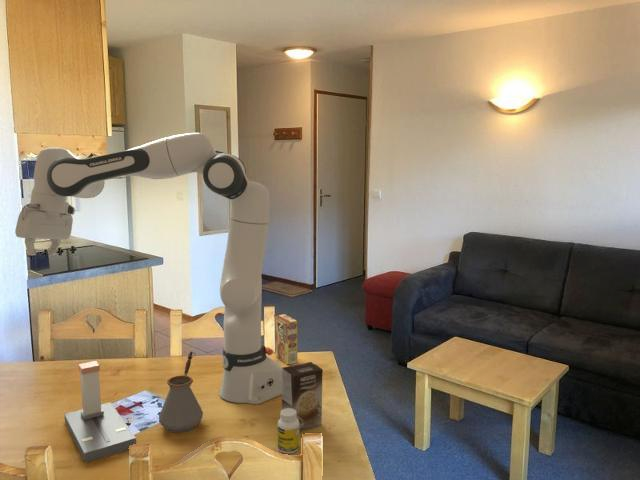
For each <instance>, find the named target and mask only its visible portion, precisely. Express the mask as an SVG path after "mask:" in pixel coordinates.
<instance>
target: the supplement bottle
mask: <svg viewBox="0 0 640 480" xmlns="http://www.w3.org/2000/svg"><path fill="white" fill-rule="evenodd" d="M279 413H280V415H279V416H280V418H279V419H278V420H277V449H278V451H279V452H280V453H282V454H294V453H296V452H298V450H299V448H300V431H299V420H298V419H297V418H296V417H297V412H296V410H294V409H292V408H286V409H283V410H282V409H281V410H280V412H279Z"/></svg>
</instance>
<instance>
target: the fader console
mask: <svg viewBox="0 0 640 480" xmlns="http://www.w3.org/2000/svg"><path fill="white" fill-rule="evenodd" d="M101 408H102V409H103V411H104V415H101V416H97V417H93V418H90V419H86V420H84V419H83V417H82V415H81V411H80V410H83V408H82V409H79V410H75V411H74V410H73V411H71V412H67V413H64V423H65V426H66V427H67V429H68V432H69V434H70V435H71V438H72V440H73V441H74V443H75V445H76V447H77V450H78V452H79V453H80V456H81V458H82V459H83V463H85V464H88V463H90V462H94V461H96V460H100V459H103V458H106V457H109V456H113V455H116V454H119V453H123V452H126V451H128V448H129V446H130V445H133V444H136V445H137V438H136V436H135V434H134V433H133V432H132V430H131V429H130V428H129V426H128V425H127V423H126V422H125V421H124V419H123V418H122V417H121V415H120V413H119V412H118V411H117V409H116V408H115V407H114V405H113V404H112V401H111V402H105V403H101Z"/></svg>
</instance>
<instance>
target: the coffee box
mask: <svg viewBox="0 0 640 480" xmlns="http://www.w3.org/2000/svg"><path fill="white" fill-rule="evenodd" d="M323 373H324V369H323V368H321V367H320V366H318V365H317V364H315V363H314V362H312V361H308V362H305V363H299V364H292V365H287V366H285V367H283V366H282V394H281V410H283V409H286V408H292V409H294V410H296V412H297V417H296V418H297V419H298V420H299V432H302V431H306V430H309V429H312V428H315V427H316V428H317V427H319V426H320V427H321V426H322V423H323V422H322V418H323V417H322V414H323V413H322V412H323V409H322V408H323Z"/></svg>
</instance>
